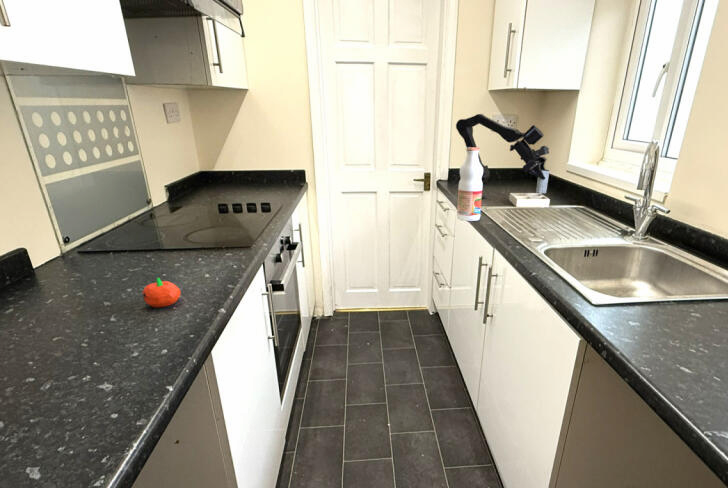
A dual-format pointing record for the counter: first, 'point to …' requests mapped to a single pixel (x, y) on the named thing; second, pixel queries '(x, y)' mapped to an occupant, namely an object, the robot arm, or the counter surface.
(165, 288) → the pumpkin
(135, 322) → the counter surface
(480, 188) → the fruit juice
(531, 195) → the grid
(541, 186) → the grey cylinder
